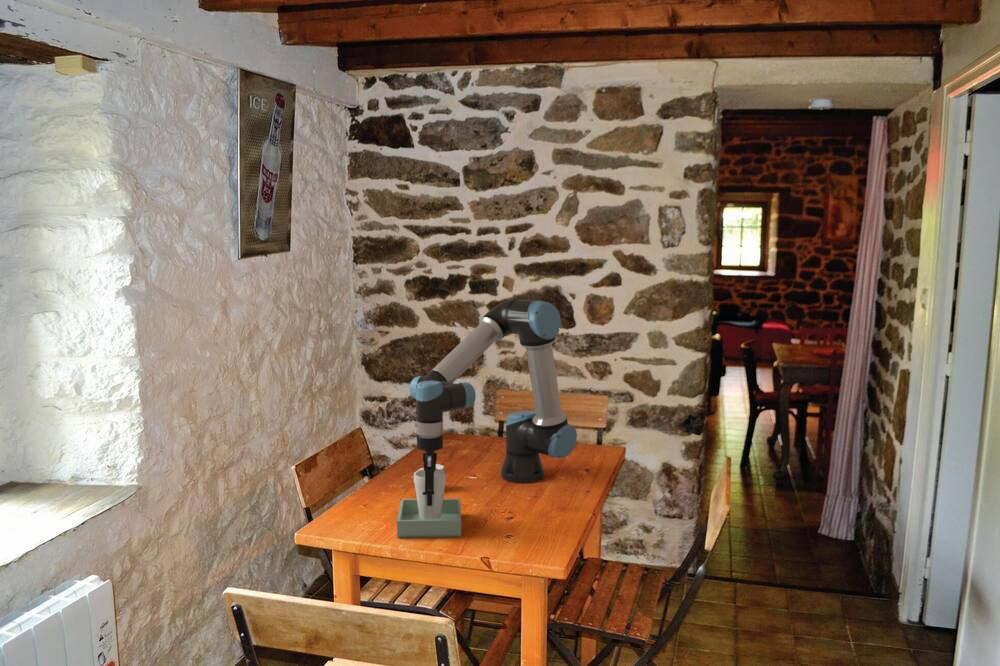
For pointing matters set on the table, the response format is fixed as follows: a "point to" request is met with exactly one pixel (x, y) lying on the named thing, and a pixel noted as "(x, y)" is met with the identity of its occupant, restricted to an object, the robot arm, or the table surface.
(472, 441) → the table surface
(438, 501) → the foam cup
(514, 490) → the table surface
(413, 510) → the bin
